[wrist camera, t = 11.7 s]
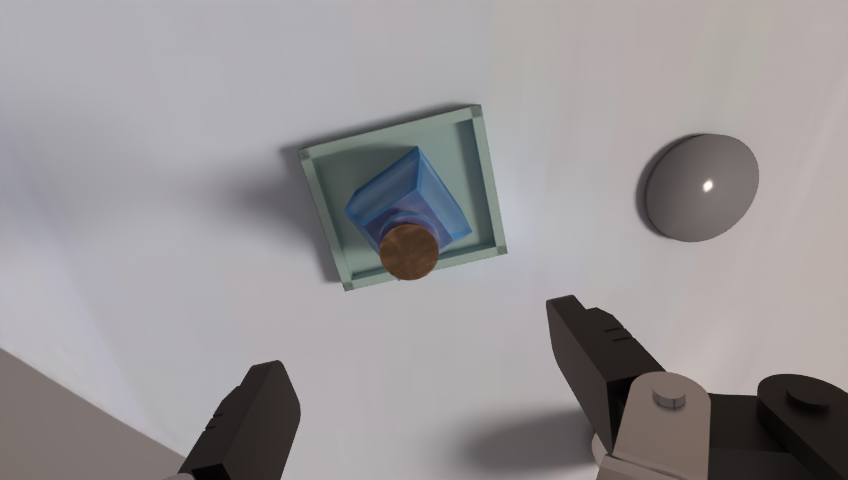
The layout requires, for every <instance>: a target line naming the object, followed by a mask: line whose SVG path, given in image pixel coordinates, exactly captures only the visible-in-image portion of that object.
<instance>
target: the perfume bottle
mask: <svg viewBox="0 0 848 480" xmlns="http://www.w3.org/2000/svg"><path fill="white" fill-rule="evenodd" d="M343 212H344V213H345V214H346V216H347V217H348V218H349V219H350V221H351V222H352V223H353V224H354V226H355V227H356V228H357V229H358V231H359V232H360V233H361V234H362V236H363V237H364V238H365V239H366V240H367V242H368V243H369V244H370V245H371V247H372V248H373V249H374V250H375V252H376V253H377V254H378V255H379V257H380V260H381V263H382V265H383V266H384V268H385V270H386V271H387V272H389V273H390V274H391V275H392V276H394V277H396V278H397V279H398V280H401V279H402V280H416V279H420V278H422V277H424V276H426V275H427V274H429V273H430V272H431V271H432V270H433V269H434V267H435V265H436V263H437V261H438V256H439V254H440V253H442V252H443V251H445V250H446V249H448V248H449V247H451V246H452V245H454V244H455V243H457V242H458V241H460V240H462V239H463V238H465V237H466V236H468V235H469V234H471V233H472V232H473V231H472V229H471V227H470V225H469V223H468V221H467V219H466V217H465V215H464V213H463V211H462V209H461V208H460V206H459V205H458V203H457V202H456V201H455V199H454V198H453V196H452V195H451V193H450V192H449V190H448V189H447V187H446V186H445V185H444V183H443V182H442V180H441V179H440V177H439V176H438V174H437V173H436V171H435V170H434V169H433V167H432V166H431V164H430V163H429V161H428V160H427V158H426V157H425V155H424V154H423V153H422V151H421V150H420V148H419V147H418V146H417V147H416V148H415V149H413V150H412V151H410V152H409V153H408V154H406V155H405V156H403V157H402V158H401V159H399V160H398V161H396V162H395V163H394V164H392V165H391V166H390V167H388V168H387V169H385V170H384V171H383V172H381V173H380V174H378V175H377V176H376V177H374V178H373V179H371V180H370V181H369V182H367V183H366V184H365V185H363V186H362V187H360V188H359V189H358V190H356V191H355V192H354V194H353V196H352V197H351V199H350V201H349V202H348V204H347V206H346V207H345V209H344V211H343Z"/></svg>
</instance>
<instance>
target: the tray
mask: <svg viewBox="0 0 848 480" xmlns="http://www.w3.org/2000/svg"><path fill="white" fill-rule="evenodd" d="M417 146H418V147H419V148H420V150H421V151H422V153H423V154H424V155H425V157H426V158H427V160H428V161H429V163H430V164H431V166H432V167H433V169H434V170H435V171H436V173H437V174H438V176H439V177H440V179H441V180H442V182H443V183H444V185H445V186H446V187H447V189H448V190H449V192H450V193H451V195H452V196H453V198H454V199H455V201H456V202H457V203H458V205H459V206H460V208H461V209H462V211H463V213H464V215H465V217H466V219H467V221H468V223H469V225H470V227H471V229H472V231H473V232H472V233H471V234H469V235H468V236H466V237H465V238H463V239H462V240H460V241H458V242H457V243H455V244H454V245H452V246H451V247H449V248H448V249H446V250H445V251H443V252H442V253H440V254H439V256H438V261H437V263H436V265H435V267H434V269H433V270H432V271H434V270H439V269H443V268H447V267H451V266H456V265H460V264H464V263H468V262H473V261H477V260H481V259H486V258H490V257H494V256H498V255H503V254H507V247H506V242H505V236H504V231H503V225H502V219H501V214H500V208H499V203H498V197H497V191H496V186H495V180H494V175H493V169H492V163H491V158H490V152H489V147H488V141H487V135H486V130H485V124H484V119H483V113H482V108H481V105H473V106H469V107H465V108H461V109H457V110H453V111H449V112H445V113H441V114H437V115H433V116H429V117H425V118H421V119H417V120H413V121H409V122H405V123H401V124H397V125H393V126H389V127H385V128H381V129H377V130H373V131H369V132H365V133H361V134H357V135H353V136H349V137H345V138H341V139H337V140H333V141H329V142H325V143H321V144H317V145H313V146H309V147H305V148H302V149H300V150H298V151H297V152H298V155H299V158H300V161H301V164H302V167H303V170H304V172H305V175H306V178H307V181H308V184H309V187H310V190H311V193H312V196H313V199H314V202H315V205H316V208H317V211H318V214H319V217H320V219H321V222H322V225H323V228H324V231H325V234H326V237H327V240H328V243H329V246H330V249H331V252H332V255H333V258H334V261H335V264H336V267H337V269H338V272H339V275H340V278H341V281H342V284H343V287H344V290H345V291H349V290H353V289H357V288H362V287H366V286H370V285H374V284H379V283H383V282H387V281H391V280H396V279H397V278H396V277H394V276H392V275H391V274H390V273H389V272H387V271H386V270H385V268H384V266H383V265H382V263H381V260H380V257H379V255H378V254H377V253H376V252H375V250H374V249H373V248H372V247H371V245H370V244H369V243H368V242H367V240H366V239H365V238H364V237H363V236H362V234H361V233H360V232H359V231H358V229H357V228H356V227H355V226H354V224H353V223H352V222H351V221H350V219H349V218H348V217H347V216H346V214H345V213H344V212H343V211H344V209H345V207H346V206H347V204H348V202H349V201H350V199H351V197H352V196H353V194H354V192H355V191H356V190H358V189H359V188H360V187H362V186H363V185H365V184H366V183H367V182H369V181H370V180H371V179H373V178H374V177H376V176H377V175H378V174H380V173H381V172H383V171H384V170H385V169H387V168H388V167H390V166H391V165H392V164H394V163H395V162H396V161H398V160H399V159H401V158H402V157H403V156H405V155H406V154H408V153H409V152H410V151H412V150H413V149H415V148H416V147H417Z"/></svg>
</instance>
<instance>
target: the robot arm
mask: <svg viewBox="0 0 848 480" xmlns="http://www.w3.org/2000/svg"><path fill="white" fill-rule="evenodd" d="M546 309H547V316H548V323H549V330H550V337H551V344H552V349H553V353H554V356H555V359H556V362H557V364H558V366H559V368H560V370H561V372H562V373H563V375H564V377H565V379H566V380H567V382H568V384H569V386H570V387H571V389H572V391H573V393H574V395H575V396H576V398H577V400H578V402H579V403H580V405H581V407H582V409H583V410H584V412H585V414H586V416H587V418H588V419H589V421H590V423H591V425H592V426H593V428H594V430H595V432H596V433H597V435H598V437H599V439H600V441H601V442H602V444H603V446H604V448H605V449H606V451H607V453H608V454H605V455H604V457H603V459H602V461H601V465H600V468H599V471H598V475H597V478H596V480H848V393H846V392H845V391H843V390H842V389H840V388H838V387H836V386H834V385H832V384H830V383H827V382H825V381H822V380H819V379H816V378H812V377H808V376H803V375H796V374H778V375H772V376H769V377H767V378H765V379H763V380H762V381H761V382H760V383H759V385H758V390H757V396H752V395H723V394H713V393H707V392H706V391H705V389H704V388H703V387H702V386H700V385H699V384H698V383H696V382H695V381H693V380H691V379H689V378H687V377H685V376H682V375H679V374H675V373H670V372H666V371H665V370H664V368H663V367H662V366H661V365H660V364H659V363H658V362H657V361H656V360H655V359H654V358H653V357H652V356H651V355H650V354H649V353H648V352H647V351H646V350H645V349H644V347H643V346H642V345H641V344H640V343H639V342H638V341H637V340H636V339H635V338H633V337H632V335H631V334H630V333H629V332H628V331H627V330H626V329H624V327H623V325H622V324H621V323H620V322H619V321H618V320H617V319H616V318H615V317H614V316H613V315H611V314H609V313H607V312H605V311H603V310H601V309H599V308H597V307H595V308H591V309H585V308H584V307H583V305H582V304H581V303H580V302H579V301H578V300H577V298H576V297H575V296H574V295H568V296H563V297H559V298H555V299H550V300H547V301H546ZM300 416H301V411H300V404H299V400H298V398H297V395H296V393H295V391H294V388H293V386H292V384H291V381H290V379H289V377H288V374H287V372H286V370H285V367H284V365H283V364H282V362H281V361H279V360H275V361H271V362H266V363H262V364H257V365H253V366H252V367H251V368H250V369H249V371H248V373H247V374H246V376H245V378H244V379H243V381H242V383H241V385H240V386H237V387H236V388H235V389H234V390H233V391H232V392H231V393H230V394H228V395H227V396H226V397H225V398H224V399H223V400H222V402H221V403H220V405H219V407H218V408H217V410H216V411H215V413H214V415H213V418H211V419H210V421H209V423H208V424H207V426H206V428H205V429H206V430H205V431H203V432H202V434H201V436H200V437H199V439H198V441H197V442H196V444H195V445H194V447H193V449H192V450H191V452H190V453H189V455H188V457H187V458H186V460H185V462H184V463H183V465H182V466H181V468H180V470H179V472H178V473H177V474H175V475H172V476H169V477H167V478H165V479H163V480H280V479H281V476H282V473H283V470H284V467H285V464H286V461H287V458H288V455H289V452H290V449H291V446H292V443H293V440H294V437H295V434H296V431H297V428H298V425H299V422H300Z"/></svg>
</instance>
